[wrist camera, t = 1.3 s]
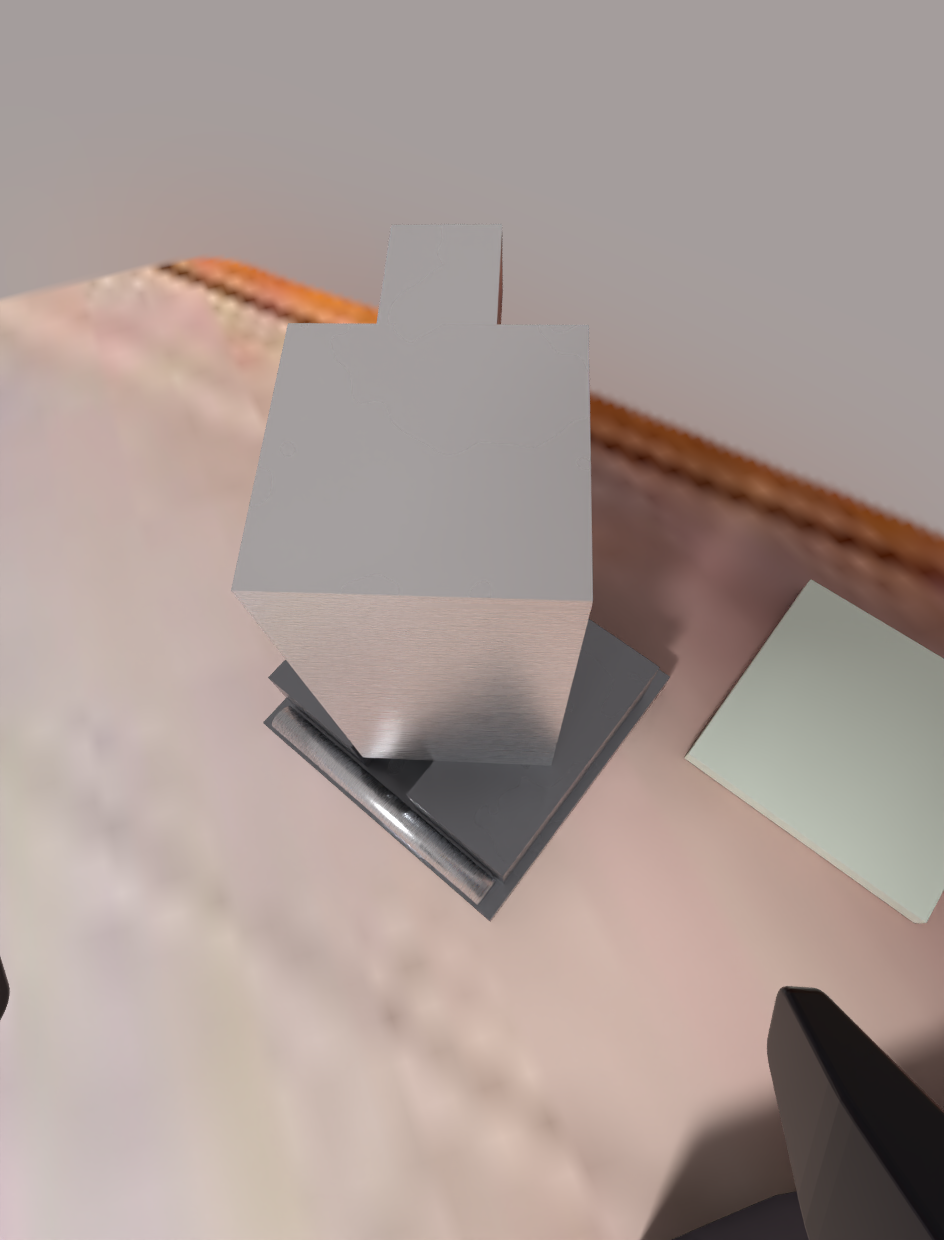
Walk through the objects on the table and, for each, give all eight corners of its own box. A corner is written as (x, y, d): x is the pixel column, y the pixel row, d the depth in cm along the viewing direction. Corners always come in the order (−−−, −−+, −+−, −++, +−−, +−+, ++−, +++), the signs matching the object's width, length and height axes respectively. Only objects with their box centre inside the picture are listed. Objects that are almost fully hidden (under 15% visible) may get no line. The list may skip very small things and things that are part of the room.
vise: (490, 921, 21) (484, 915, 15) (272, 731, 23) (200, 666, 18) (663, 687, 23) (712, 609, 18) (450, 540, 26) (435, 432, 20)
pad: (914, 923, 20) (926, 923, 19) (684, 757, 22) (688, 753, 22) (1023, 719, 22) (1036, 714, 22) (803, 587, 24) (810, 579, 24)
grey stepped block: (551, 765, 19) (592, 601, 10) (362, 757, 19) (231, 590, 10) (553, 523, 22) (586, 223, 13) (390, 519, 22) (308, 225, 13)
